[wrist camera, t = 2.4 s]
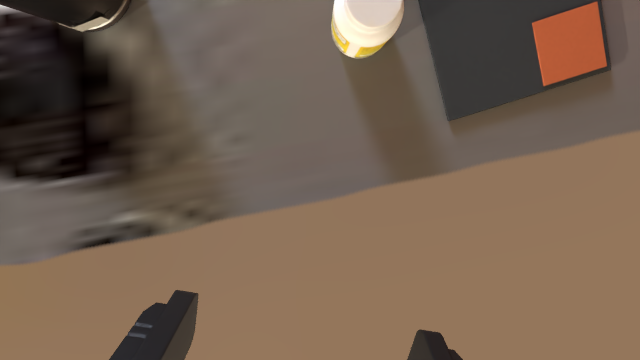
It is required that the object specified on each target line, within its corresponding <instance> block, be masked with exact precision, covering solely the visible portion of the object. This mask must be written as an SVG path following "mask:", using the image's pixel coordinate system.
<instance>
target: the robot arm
mask: <svg viewBox="0 0 640 360" xmlns="http://www.w3.org/2000/svg"><path fill="white" fill-rule="evenodd" d="M130 3H131V0H0V5H3V6H7V7H10V8H13V9H16V10H19V11H22V12H25V13H28V14H31V15H35V16H38V17H41V18H44V19H47V20H50V21H53V22H56V23H59V24H61V25H63V26H65V27H68V28H72V29H75V30H79V31H82V32H83V31H84V32H94V31H100V30H104V29H106V28H109V27H110V26H112V25H114V24H115V23H116V22H118V21H119V20H120V19H121V18H122V17H123V15H124V14H125V13H126V11H127V9H128V8H129V5H130ZM197 304H198V293H193V292H186V291H180V290H176V291H175V292H174V293H173V295H172V297H171V298H170V300H169V301H168V303H167V304H162V303H155V304H154V305H152V306H151V307H149V308H148V309H146V310H145V311H143V313H142V314H141V315H140V317H139V318H138V320H137V321H136V323H135V325H134V326H133V327H132V328H131V330H130V331H129V332H128V335H127V336H126V337H125V338H124V339H123V341H122V342H121V344H120V345H119V347H118V348H117V349H116V351H115V352H114V354H113V355H112V356H111V358H110V359H109V360H184V359H185V357H186V354H187V353H188V350H189V348H190V346H191V342H192V340H193V336H194V331H195V324H196V314H197ZM407 360H463V359H462V358H461V357H460V356H459V355H458V354H457V353H456V352H455V351H454V350H451V349H448V347H447V345H446V343H445V341H444V338H443V336H442V335H441V334H440V333H438V332H432V331H426V330H418V331H417V333H416V336H415V339H414V342H413V345H412V347H411V351H410V354H409V356H408V359H407Z"/></svg>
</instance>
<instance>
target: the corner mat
mask: <svg viewBox="0 0 640 360" xmlns="http://www.w3.org/2000/svg"><path fill="white" fill-rule="evenodd" d="M419 4H420V8H421V13H422V17H423V21H424V25H425V29H426V33H427V37H428V41H429V45H430V49H431V54H432V58H433V62H434V66H435V70H436V74H437V78H438V82H439V86H440V90H441V94H442V99H443V103H444V107H445V111H446V115H447V119H448V121H451V120H454V119H457V118H461V117H464V116H467V115H470V114H473V113H476V112H480V111H483V110H486V109H489V108H492V107H495V106H498V105H502V104H505V103H508V102H511V101H514V100H517V99H521V98H524V97H527V96H530V95H533V94H536V93H540V92H543V91H546V90H549V89H552V88H555V87H558V86H562V85H565V84H568V83H571V82H574V81H577V80H581V79H584V78H587V77H590V76H593V75H596V74H599V73H603V72H606V71H609V70H611V65H610V59H609V52H608V45H607V38H606V31H605V25H604V18H603V11H602V4H601V0H419Z"/></svg>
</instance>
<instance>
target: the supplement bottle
mask: <svg viewBox="0 0 640 360" xmlns="http://www.w3.org/2000/svg"><path fill="white" fill-rule="evenodd" d="M403 12H404V2H403V0H335V2H334V7H333V16H332V24H331V32H332V37H333V40H334V42H335V44H336V46H337V47H338V49H339V50H340V51H341V52H343V53H344V54H345V55H347V56H349V57H353V58H365V57H369V56H371V55H373V54H374V53H376V52H377V51H378V50H380V48H381V47H382V46H383V45H384V44H385V43H386V42H387V41H388V40H389V39H390V38H391V37H392V36H393V35H394V34H395V32H396V31H397V29H398V27H399V25H400V23H401V21H402V17H403Z"/></svg>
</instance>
